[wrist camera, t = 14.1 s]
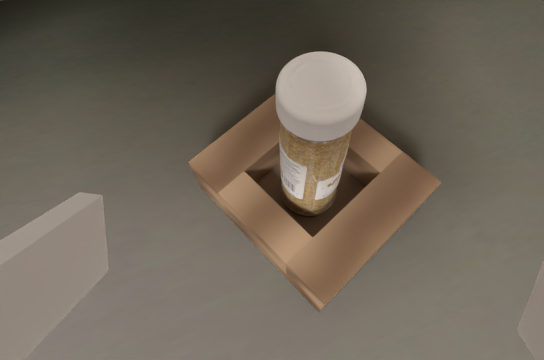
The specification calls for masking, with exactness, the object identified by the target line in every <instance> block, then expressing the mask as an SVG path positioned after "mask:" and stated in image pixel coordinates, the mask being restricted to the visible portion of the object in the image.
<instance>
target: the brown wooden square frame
mask: <svg viewBox="0 0 544 360" xmlns="http://www.w3.org/2000/svg"><path fill="white" fill-rule="evenodd" d="M279 134H280V119H279V117H278V115H277V111H276V93H275V94H274V95H273V96H271V97H270V98H269V99H267V100H266V101H265V102H264V103H262V104H261V105H260V106H259V107H257V108H256V109H255V110H253V111H252V112H251V113H250V114H248V115H247V116H246V117H245V118H243V119H242V120H241V121H240V122H238V123H237V124H236V125H234V126H233V127H232V128H231V129H229V130H228V131H227V132H226V133H224V134H223V135H222V136H220V137H219V138H218V139H217V140H215V141H214V142H213V143H212V144H210V145H209V146H208V147H206V148H205V149H204V150H203V151H201V152H200V153H199V154H198V155H196V156H195V157H194V158H193V159H191V160H190V161H189V162H188V163H189V165H190V167H191V169H192V171H193V173H194V175H195V177H196V179H197V181H198V183H199V185H200V187H201V189H202V190H203V191H204V192H205V193H206V194H207V195H208V196H209V197H210V198H211V199H212V200H213V201H214V202H215V203H216V204H217V206H218V207H219V208H220V209H221V210H222V211H223V212H224V213H225V214H226V215H227V216H228V217H229V218H230V219H231V220H232V221H233V222H234V223H235V224H236V226H237V227H238V228H239V229H240V230H241V231H242V232H243V233H244V234H245V235H246V236H247V237H248V238H249V239H250V240H251V241H252V242H253V243H254V244H255V246H256V247H257V248H258V249H259V250H260V251H261V252H262V253H263V254H264V255H265V256H266V257H267V258H268V259H269V260H270V261H271V262H272V263H273V264H274V266H275V267H276V268H277V269H278V270H279V271H280V272H281V273H282V274H283V275H284V276H285V277H286V278H287V279H288V280H289V281H290V282H291V283H292V285H293V286H294V287H295V288H296V289H297V290H298V291H299V292H300V293H301V294H302V295H303V296H304V297H305V298H306V299H307V300H308V301H309V302H310V303H311V305H312V306H313V307H314V308H315V309H316V310H317V311H318V312H320V311H321V310H322V309H323V308H324V307H325V306H326V305H327V304H328V303H329V302H330V300H331V299H332V298H333V297H334V296H335V295H336V294H337V293H338V292H339V291H340V290H341V289H342V288H343V287H344V286H345V285H346V284H347V283H348V282H349V281H350V280H351V279H352V277H353V276H354V275H355V274H356V273H357V272H358V271H359V270H360V269H361V268H362V267H363V266H364V265H365V264H366V263H367V262H368V261H369V260H370V259H371V258H372V257H373V256H374V255H375V253H376V252H377V251H378V250H379V249H380V248H381V247H382V246H383V245H384V244H385V243H386V242H387V241H388V240H389V239H390V238H391V237H392V236H393V235H394V234H395V233H396V232H397V231H398V229H399V228H400V227H401V226H402V225H403V224H404V223H405V222H406V221H407V220H408V219H409V218H410V217H411V216H412V215H413V214H414V213H415V212H416V211H417V210H418V209H419V208H420V206H421V205H422V204H423V203H424V202H425V201H426V200H427V199H428V197H429V196H430V195H431V194H432V193H433V192H434V191H435V189H436V188H437V187H438V186H439V185H440V184H441V183H442V182H441V181H440V180H438V179H437V178H436V177H435V176H433V175H432V174H431V173H429V172H428V171H427V170H426V169H424V168H423V167H422V166H420V165H419V164H418V163H417V162H415V161H414V160H413V159H412V158H410V157H409V156H408V155H406V154H405V153H404V152H403V151H401V150H400V149H399V148H397V147H396V146H395V145H394V144H392V143H391V142H390V141H388V140H387V139H386V138H385V137H383V136H382V135H381V134H380V133H378V132H377V131H376V130H374V129H373V128H372V127H371V126H369V125H368V124H367V123H365V122H364V121H363V120H362V119H360V118H359V121H358V122H357V124H356V125H355V127H354V128H353V129H352V133H351V137H350V141H349V146H348V151H347V154H346V158H345V161H344V165H343V169H342V173H341V177H340V180H339V183H338V185H337V191H336V198H335V200H334V202H333V204H332V205H331V206H330V208H329V209H327V210H326V211H325V212H323V213H321V214H319V215H315V216H303V215H300V214H297V213H295V212H293V211H292V210H290V209H289V208H288V207H287V205H286V204H285V203H284V201H283V199H282V196H281V183H282V180H281V169H280V145H279Z"/></svg>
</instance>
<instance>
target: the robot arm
mask: <svg viewBox="0 0 544 360" xmlns="http://www.w3.org/2000/svg"><path fill="white" fill-rule="evenodd" d="M108 271H109V268H108V256H107V244H106V232H105V220H104V208H103V196H102V195H97V194H89V193H81V192H79V193H77V194H76V195H74V196H72V197H71V198H69V199H67V200H66V201H64V202H63V203H61V204H59V205H58V206H56V207H54V208H53V209H51V210H49V211H48V212H46V213H44V214H43V215H41V216H40V217H38V218H36V219H35V220H33V221H31V222H30V223H28V224H26V225H25V226H23V227H22V228H20V229H18V230H17V231H15V232H13V233H12V234H10V235H8V236H7V237H5V238H3V239H2V240H0V360H24V359H25V358H26V357H27V356H28V355H29V354H30V353H31V352H32V351H33V350H34V349H35V348H36V347H37V346H38V345H39V343H40V342H41V341H42V340H43V339H44V338H45V337H46V336H47V335H48V334H49V333H50V332H51V331H52V330H53V329H54V328H55V327H56V326H57V325H58V323H59V322H60V321H61V320H62V319H63V318H64V317H65V316H66V315H67V314H68V313H69V312H70V311H71V310H72V309H73V308H74V307H75V306H76V304H77V303H78V302H79V301H80V300H81V299H82V298H83V297H84V296H85V295H86V294H87V293H88V292H89V291H90V290H91V289H92V288H93V287H94V285H95V284H96V283H97V282H98V281H99V280H100V279H101V278H102V277H103V276H104V275H105V274H106V273H107V272H108ZM517 332H518V333H519V335H520V336H521V338H522V339H523V341H524V342H525V344H526V345H527V347H528V348H529V350H530V351H531V353H532V354H533V356H534V357H535V359H536V360H544V261H543V264H542V266H541V269H540V272H539V274H538V277H537V280H536V282H535V285H534V287H533V290H532V293H531V295H530V298H529V301H528V303H527V306H526V308H525V311H524V314H523V316H522V319H521V321H520V324H519V327H518V329H517Z"/></svg>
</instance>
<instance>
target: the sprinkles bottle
mask: <svg viewBox="0 0 544 360" xmlns="http://www.w3.org/2000/svg"><path fill="white" fill-rule="evenodd" d="M366 92H367V88H366V82H365V79H364V76H363V74H362V72H361V71H360V70H359V68H358V67H357V66H356V65H355V64H354V63H353V62H351V61H350V60H348V59H347V58H345V57H343V56H341V55H338V54H335V53H330V52H322V51H321V52H310V53H306V54H303V55H300V56H298V57H296V58H294V59H293V60H291V61H290V62H289V63H287V64H286V65H285V66H284V68H283V69H282V70H281V72H280V74H279V75H278V78H277V81H276V111H277V115H278V117H279V119H280V134H279V145H280V169H281V180H282V183H281V196H282V199H283V201H284V203H285V204H286V205H287V207H288V208H289V209H290V210H292V211H293V212H295V213H297V214H300V215H303V216H315V215H319V214H321V213H323V212H325V211H326V210H327V209H329V208H330V206H331V205H332V204H333V202H334V200H335V198H336V191H337V185H338V183H339V180H340V177H341V173H342V169H343V165H344V161H345V158H346V154H347V151H348V146H349V141H350V137H351V133H352V129H353V128H354V127H355V125H356V124H357V122H358V121H359V118H360V116H361V113H362V109H363V106H364V102H365V98H366Z"/></svg>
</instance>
